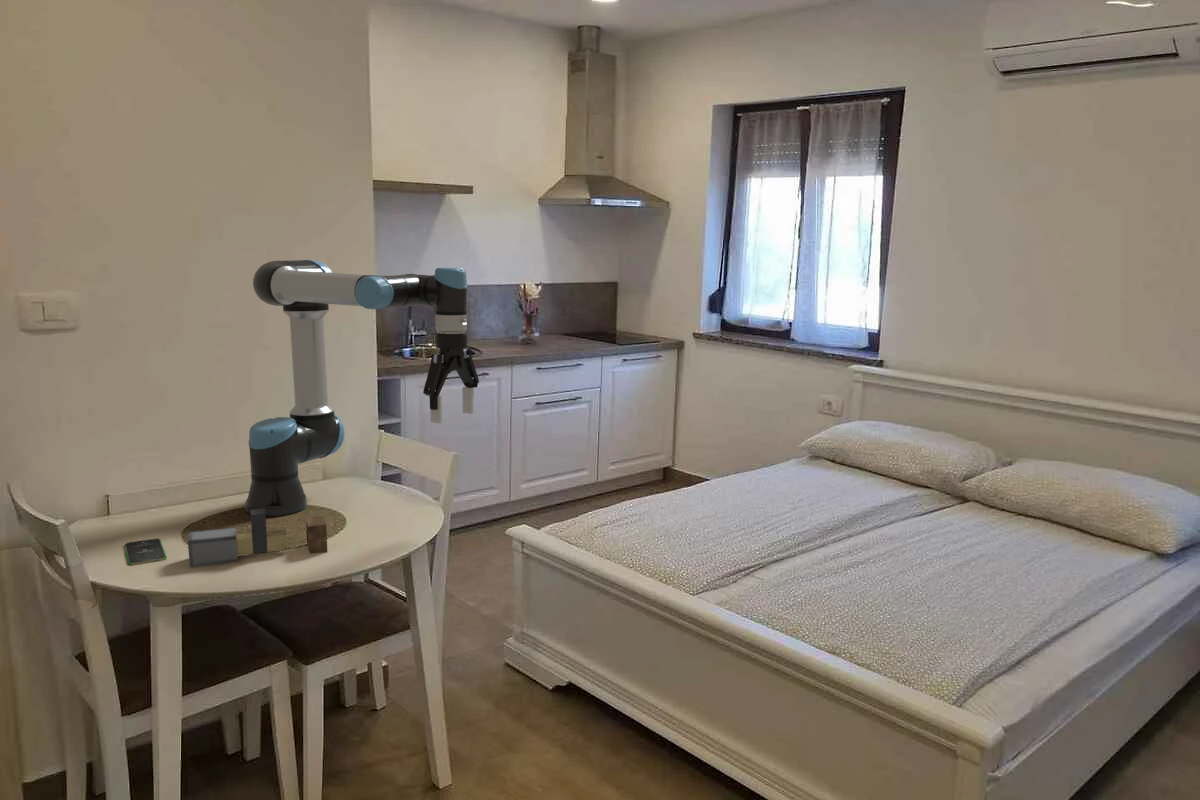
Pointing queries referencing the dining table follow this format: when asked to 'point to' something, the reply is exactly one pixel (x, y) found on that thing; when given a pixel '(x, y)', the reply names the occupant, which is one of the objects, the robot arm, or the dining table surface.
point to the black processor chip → (144, 551)
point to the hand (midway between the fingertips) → (452, 417)
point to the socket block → (316, 534)
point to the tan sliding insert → (260, 537)
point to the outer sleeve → (212, 547)
